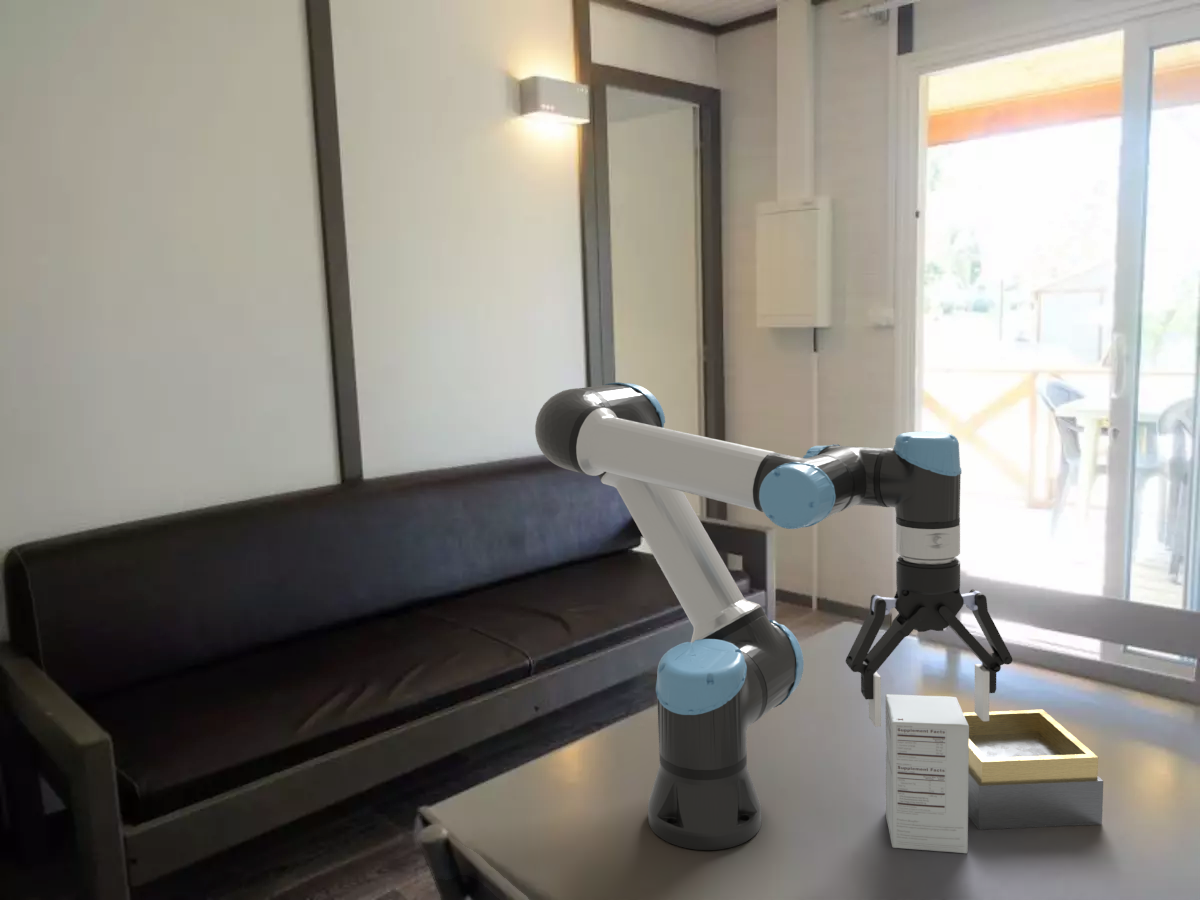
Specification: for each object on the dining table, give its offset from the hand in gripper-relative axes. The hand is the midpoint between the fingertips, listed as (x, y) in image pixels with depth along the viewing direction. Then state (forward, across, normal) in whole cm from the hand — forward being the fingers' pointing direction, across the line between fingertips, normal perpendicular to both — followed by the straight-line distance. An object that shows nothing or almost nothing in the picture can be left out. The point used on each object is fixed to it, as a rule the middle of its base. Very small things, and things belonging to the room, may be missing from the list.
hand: (928, 719), depth 119 cm
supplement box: (+16, 0, 0) cm, 16 cm away
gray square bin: (+15, +15, +8) cm, 23 cm away
